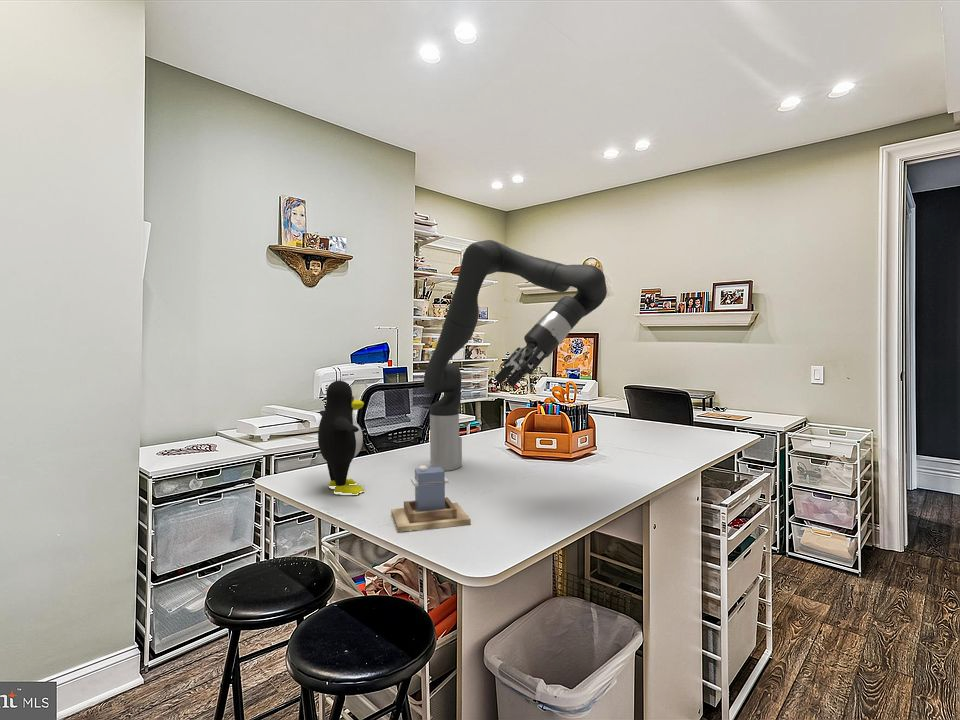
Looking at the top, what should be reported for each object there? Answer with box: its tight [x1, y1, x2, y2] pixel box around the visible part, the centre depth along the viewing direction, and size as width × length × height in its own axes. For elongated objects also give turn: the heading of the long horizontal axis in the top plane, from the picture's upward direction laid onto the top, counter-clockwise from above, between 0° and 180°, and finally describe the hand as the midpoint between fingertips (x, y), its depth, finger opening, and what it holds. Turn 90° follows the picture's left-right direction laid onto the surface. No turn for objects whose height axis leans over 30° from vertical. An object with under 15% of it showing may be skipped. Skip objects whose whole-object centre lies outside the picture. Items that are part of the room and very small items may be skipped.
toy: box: [317, 380, 365, 494], centre depth 139 cm, size 37×12×30 cm, turn 30°
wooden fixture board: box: [390, 496, 472, 533], centre depth 116 cm, size 16×12×3 cm
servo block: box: [410, 465, 450, 512], centre depth 116 cm, size 8×4×11 cm, turn 106°
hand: (503, 382), depth 120 cm, fingers open, 8 cm apart
